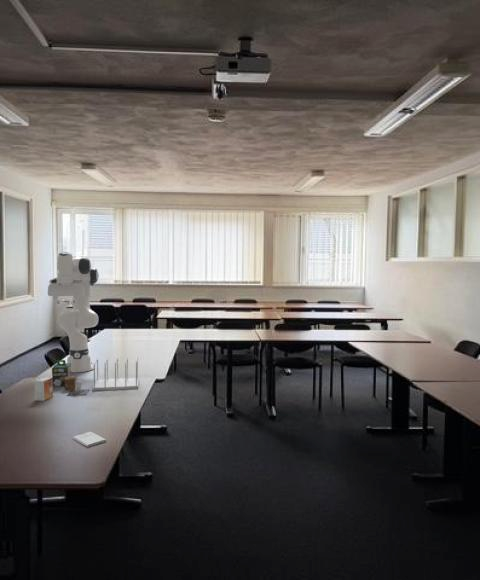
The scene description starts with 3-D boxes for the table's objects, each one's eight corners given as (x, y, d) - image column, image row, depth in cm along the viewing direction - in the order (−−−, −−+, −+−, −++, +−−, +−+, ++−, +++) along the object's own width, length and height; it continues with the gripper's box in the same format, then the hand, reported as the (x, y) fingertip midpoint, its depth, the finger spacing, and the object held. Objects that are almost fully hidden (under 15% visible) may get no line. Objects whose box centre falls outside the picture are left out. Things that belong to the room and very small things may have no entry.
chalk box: (72, 382, 282) (71, 357, 281) (68, 386, 273) (68, 361, 272) (56, 382, 281) (55, 358, 280) (52, 386, 272) (51, 361, 270)
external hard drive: (87, 448, 186) (73, 440, 195) (106, 443, 192) (91, 434, 201) (87, 444, 186) (73, 436, 195) (106, 439, 192) (91, 430, 201)
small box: (44, 401, 245) (43, 381, 244) (34, 400, 246) (34, 380, 245) (53, 396, 253) (52, 377, 252) (44, 396, 254) (43, 376, 253)
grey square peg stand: (71, 390, 264) (70, 379, 263) (89, 389, 265) (89, 378, 265) (67, 395, 254) (66, 383, 254) (86, 395, 255) (85, 383, 255)
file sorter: (92, 391, 263) (91, 363, 262) (96, 382, 280) (95, 357, 279) (138, 388, 268) (137, 361, 267) (139, 380, 285) (138, 355, 284)
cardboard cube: (67, 387, 270) (66, 376, 269) (76, 387, 271) (76, 375, 270) (65, 390, 265) (64, 378, 264) (74, 389, 266) (74, 378, 265)
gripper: (85, 279, 280) (85, 302, 281) (49, 280, 277) (50, 303, 278) (83, 280, 274) (83, 303, 275) (46, 280, 271) (47, 304, 272)
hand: (66, 303), depth 277 cm, fingers open, 8 cm apart
